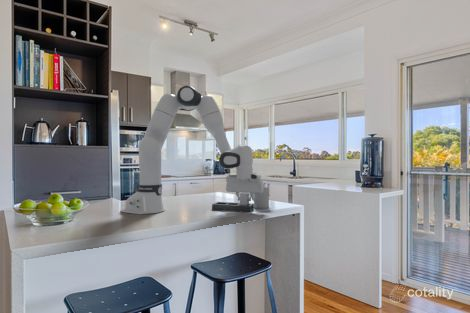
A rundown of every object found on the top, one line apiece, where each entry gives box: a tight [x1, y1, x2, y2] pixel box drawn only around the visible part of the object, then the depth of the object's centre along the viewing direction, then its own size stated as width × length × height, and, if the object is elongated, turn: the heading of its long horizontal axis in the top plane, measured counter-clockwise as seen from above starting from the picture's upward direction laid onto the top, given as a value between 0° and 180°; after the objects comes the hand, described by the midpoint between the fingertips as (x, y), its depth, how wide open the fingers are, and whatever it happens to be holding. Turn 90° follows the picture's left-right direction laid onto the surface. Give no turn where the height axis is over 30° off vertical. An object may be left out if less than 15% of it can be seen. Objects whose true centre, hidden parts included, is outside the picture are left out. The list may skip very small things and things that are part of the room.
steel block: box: [239, 192, 250, 206], centre depth 161 cm, size 4×4×8 cm
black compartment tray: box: [211, 201, 255, 213], centre depth 163 cm, size 21×9×3 cm, turn 73°
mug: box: [251, 186, 270, 210], centre depth 171 cm, size 12×8×11 cm
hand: (244, 200), depth 161 cm, fingers open, 4 cm apart
